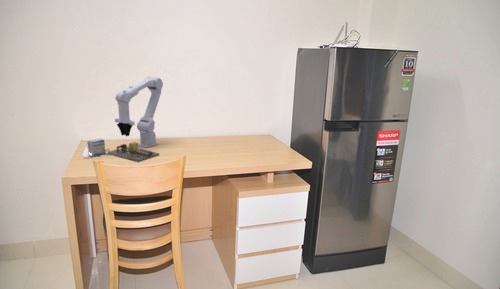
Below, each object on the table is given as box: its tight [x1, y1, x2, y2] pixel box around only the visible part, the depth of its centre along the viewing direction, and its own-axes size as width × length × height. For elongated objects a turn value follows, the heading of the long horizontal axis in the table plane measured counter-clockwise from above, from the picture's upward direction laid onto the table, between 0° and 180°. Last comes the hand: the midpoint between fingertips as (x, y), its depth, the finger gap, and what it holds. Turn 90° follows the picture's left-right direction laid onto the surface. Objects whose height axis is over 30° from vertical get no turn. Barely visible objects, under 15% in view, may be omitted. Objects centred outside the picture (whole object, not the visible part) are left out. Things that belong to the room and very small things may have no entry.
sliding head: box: [127, 141, 139, 153], centre depth 190 cm, size 7×3×5 cm, turn 151°
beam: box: [116, 143, 153, 156], centre depth 189 cm, size 6×23×3 cm, turn 61°
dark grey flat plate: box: [107, 145, 160, 163], centre depth 191 cm, size 16×25×1 cm, turn 61°
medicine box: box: [86, 138, 106, 158], centre depth 186 cm, size 8×4×9 cm, turn 149°
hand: (125, 135), depth 193 cm, fingers open, 3 cm apart
